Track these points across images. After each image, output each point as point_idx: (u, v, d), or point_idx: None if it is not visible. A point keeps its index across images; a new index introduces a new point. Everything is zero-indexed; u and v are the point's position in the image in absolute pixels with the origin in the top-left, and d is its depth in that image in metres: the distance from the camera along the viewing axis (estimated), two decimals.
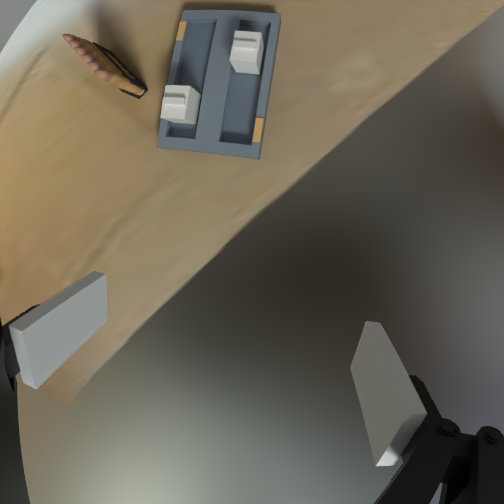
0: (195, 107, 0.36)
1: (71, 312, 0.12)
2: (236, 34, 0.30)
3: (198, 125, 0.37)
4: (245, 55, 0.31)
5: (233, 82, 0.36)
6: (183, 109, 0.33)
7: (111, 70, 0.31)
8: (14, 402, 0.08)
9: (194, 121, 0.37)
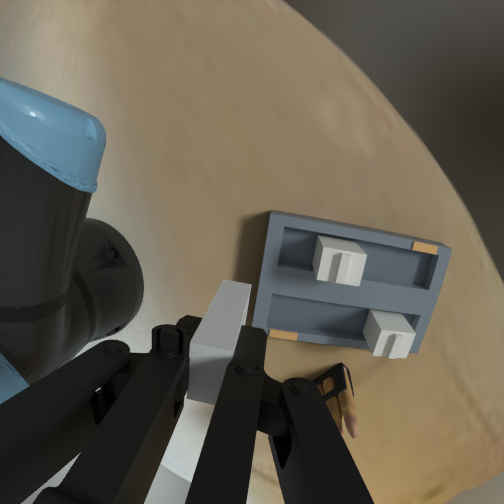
0: (390, 317, 0.31)
1: None
2: (323, 278, 0.28)
3: (408, 312, 0.32)
4: (356, 267, 0.27)
5: None
6: (405, 335, 0.28)
7: (337, 413, 0.30)
8: (170, 429, 0.09)
9: (402, 316, 0.32)
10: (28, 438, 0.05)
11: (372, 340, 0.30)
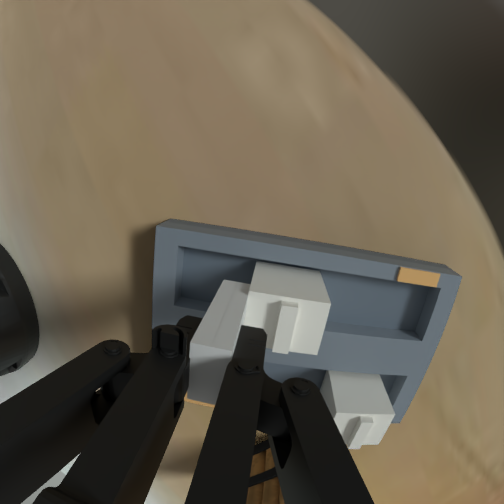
0: (358, 382, 0.20)
1: None
2: None
3: (387, 373, 0.20)
4: (311, 325, 0.15)
5: None
6: (377, 418, 0.17)
7: None
8: (170, 429, 0.09)
9: (378, 378, 0.20)
10: (28, 438, 0.05)
11: None
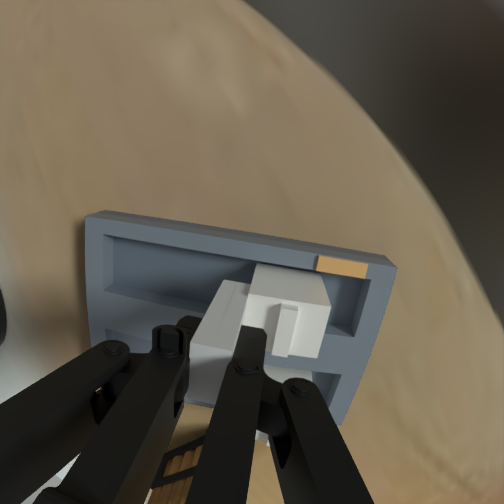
0: (283, 377, 0.20)
1: None
2: None
3: (317, 370, 0.20)
4: (311, 328, 0.15)
5: None
6: None
7: None
8: (170, 429, 0.09)
9: (308, 375, 0.20)
10: (28, 438, 0.05)
11: None
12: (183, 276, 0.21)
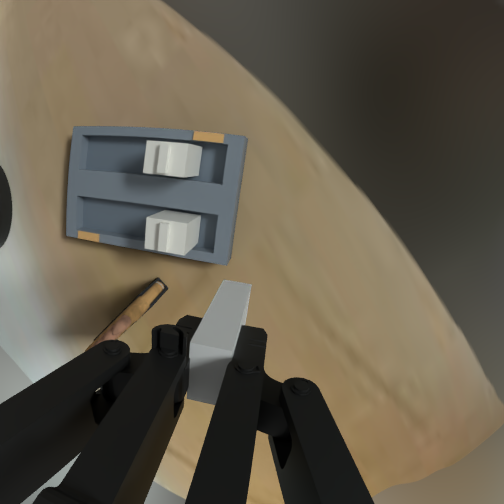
0: (178, 214, 0.31)
1: None
2: (148, 170, 0.27)
3: (201, 210, 0.31)
4: (179, 157, 0.27)
5: None
6: (175, 225, 0.28)
7: None
8: (170, 429, 0.09)
9: (196, 216, 0.32)
10: (28, 438, 0.05)
11: None
12: (125, 157, 0.32)
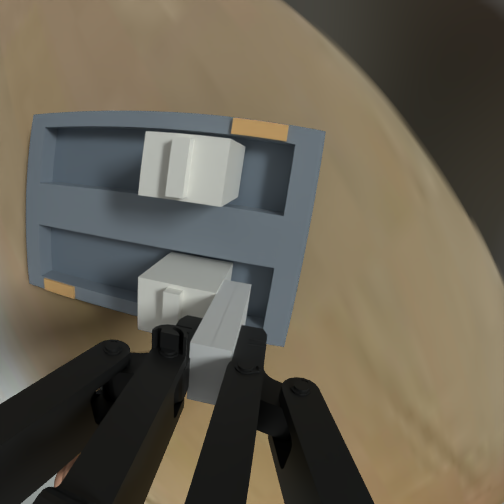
0: (194, 265, 0.18)
1: None
2: (148, 191, 0.14)
3: (244, 260, 0.18)
4: (210, 166, 0.13)
5: None
6: (192, 295, 0.15)
7: None
8: (170, 429, 0.09)
9: (226, 266, 0.19)
10: (28, 438, 0.05)
11: None
12: (111, 163, 0.19)
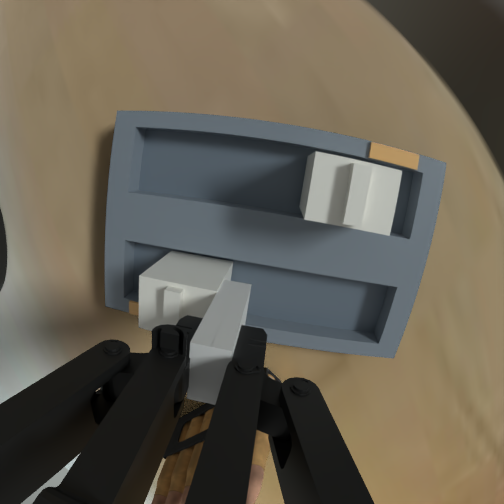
0: (195, 264, 0.18)
1: None
2: (317, 216, 0.14)
3: (372, 280, 0.18)
4: (383, 196, 0.13)
5: (276, 205, 0.19)
6: (192, 293, 0.15)
7: None
8: (170, 429, 0.09)
9: (226, 265, 0.19)
10: (28, 438, 0.05)
11: None
12: (221, 174, 0.19)
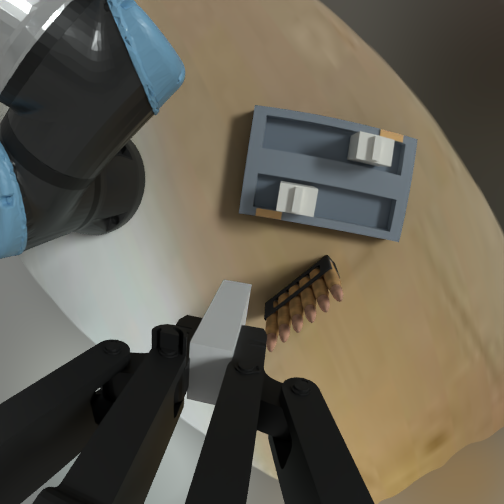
0: (298, 184, 0.36)
1: None
2: (361, 157, 0.31)
3: (383, 195, 0.35)
4: (387, 150, 0.31)
5: (335, 158, 0.36)
6: (307, 190, 0.33)
7: (323, 288, 0.34)
8: (170, 429, 0.09)
9: (312, 186, 0.36)
10: (28, 438, 0.05)
11: None
12: (308, 142, 0.36)
